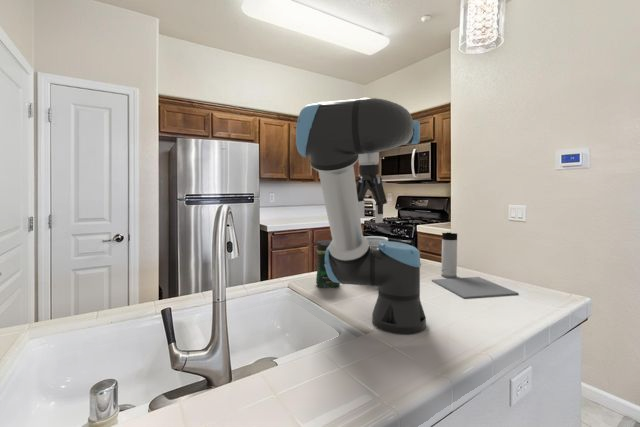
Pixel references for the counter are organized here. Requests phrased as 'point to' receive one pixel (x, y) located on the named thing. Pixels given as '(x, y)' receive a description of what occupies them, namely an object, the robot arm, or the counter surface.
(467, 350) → the counter surface
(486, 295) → the mat
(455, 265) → the travel mug
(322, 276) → the coffee jar
